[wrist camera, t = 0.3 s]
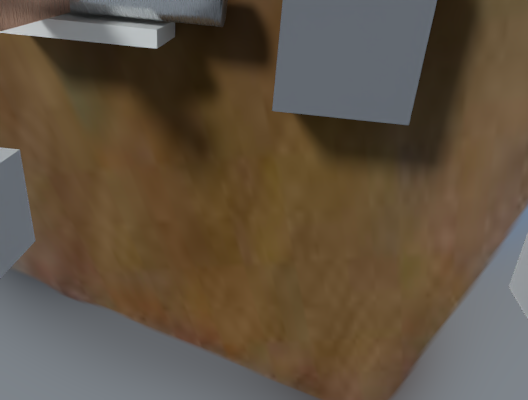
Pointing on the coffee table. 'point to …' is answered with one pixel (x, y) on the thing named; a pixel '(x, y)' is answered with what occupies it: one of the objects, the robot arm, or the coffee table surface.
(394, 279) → the coffee table surface
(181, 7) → the silver peg with handle
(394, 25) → the socket block
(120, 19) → the white channel cradle
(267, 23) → the coffee table surface
